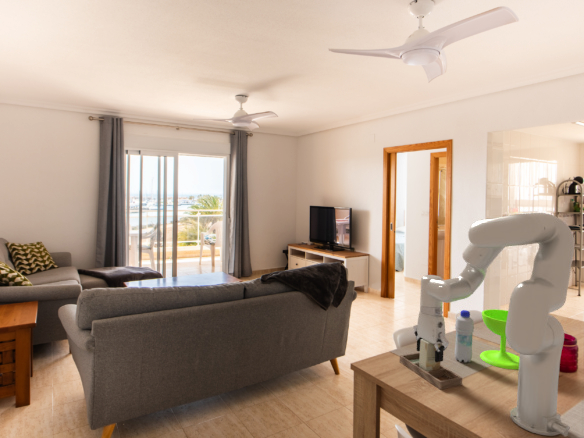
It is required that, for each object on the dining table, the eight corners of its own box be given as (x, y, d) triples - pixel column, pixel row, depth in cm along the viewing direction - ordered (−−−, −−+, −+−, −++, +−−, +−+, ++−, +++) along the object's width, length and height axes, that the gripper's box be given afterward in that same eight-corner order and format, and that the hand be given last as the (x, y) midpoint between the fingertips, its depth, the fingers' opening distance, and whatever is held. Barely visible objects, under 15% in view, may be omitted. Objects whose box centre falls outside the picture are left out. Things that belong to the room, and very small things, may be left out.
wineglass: (518, 354, 155) (520, 311, 154) (532, 371, 140) (535, 324, 139) (475, 349, 159) (477, 307, 158) (485, 366, 144) (487, 320, 142)
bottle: (468, 357, 152) (470, 308, 151) (475, 364, 145) (477, 313, 144) (451, 356, 152) (453, 307, 151) (457, 363, 146) (459, 312, 145)
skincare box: (426, 377, 135) (427, 343, 134) (418, 371, 139) (419, 339, 138) (440, 374, 137) (442, 341, 136) (432, 369, 141) (434, 337, 140)
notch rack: (462, 384, 129) (462, 377, 129) (440, 389, 126) (440, 382, 126) (419, 358, 150) (419, 352, 150) (399, 361, 147) (399, 355, 147)
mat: (429, 366, 143) (429, 365, 143) (413, 369, 141) (413, 368, 141) (418, 359, 149) (418, 358, 149) (403, 362, 146) (403, 361, 146)
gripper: (457, 316, 130) (455, 364, 131) (423, 302, 146) (421, 345, 147) (439, 318, 127) (437, 367, 128) (407, 304, 143) (405, 348, 145)
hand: (429, 355), depth 138 cm, fingers open, 9 cm apart
